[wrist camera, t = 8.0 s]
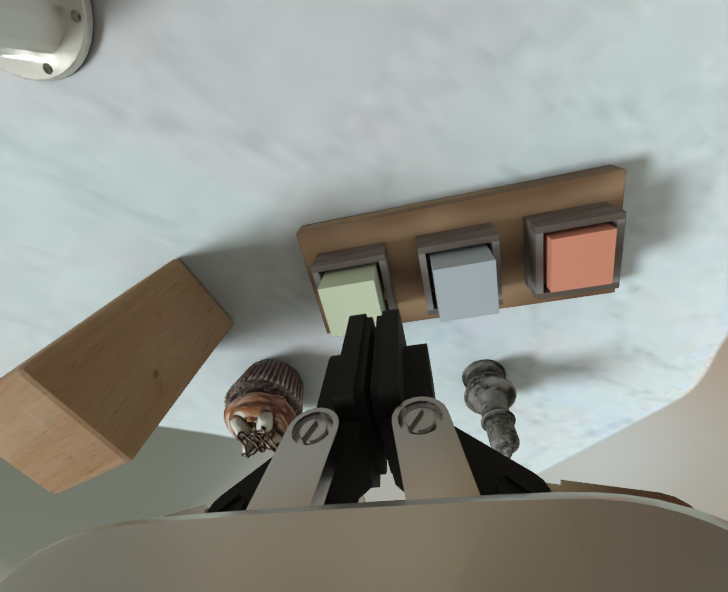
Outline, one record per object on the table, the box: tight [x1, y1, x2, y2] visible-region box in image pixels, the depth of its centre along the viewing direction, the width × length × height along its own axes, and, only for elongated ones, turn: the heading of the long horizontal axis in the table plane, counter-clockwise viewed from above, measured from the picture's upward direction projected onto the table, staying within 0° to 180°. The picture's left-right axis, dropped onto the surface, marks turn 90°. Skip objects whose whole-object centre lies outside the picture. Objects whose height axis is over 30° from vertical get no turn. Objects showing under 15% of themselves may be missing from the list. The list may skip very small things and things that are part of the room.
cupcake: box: [224, 360, 303, 458], centre depth 45 cm, size 10×10×10 cm
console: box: [296, 165, 626, 334], centre depth 37 cm, size 12×30×6 cm, turn 102°
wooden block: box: [0, 259, 233, 494], centre depth 36 cm, size 10×10×20 cm
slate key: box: [429, 243, 499, 321], centre depth 33 cm, size 5×5×4 cm
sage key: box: [317, 262, 386, 337], centre depth 35 cm, size 5×5×4 cm
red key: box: [543, 222, 617, 293], centre depth 33 cm, size 5×5×4 cm
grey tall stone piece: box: [462, 360, 520, 458], centre depth 41 cm, size 6×6×12 cm
